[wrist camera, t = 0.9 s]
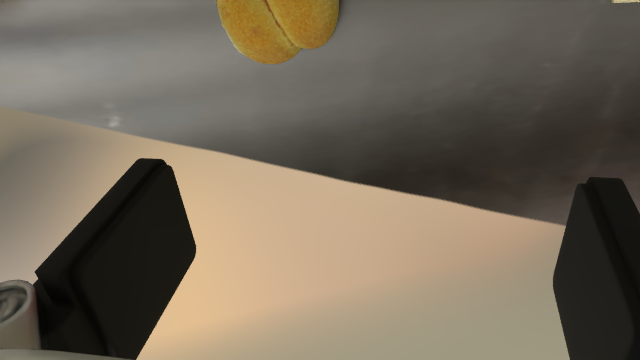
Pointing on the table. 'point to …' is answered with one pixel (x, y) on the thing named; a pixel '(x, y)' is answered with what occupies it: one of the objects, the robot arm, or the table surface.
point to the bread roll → (277, 26)
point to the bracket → (621, 0)
